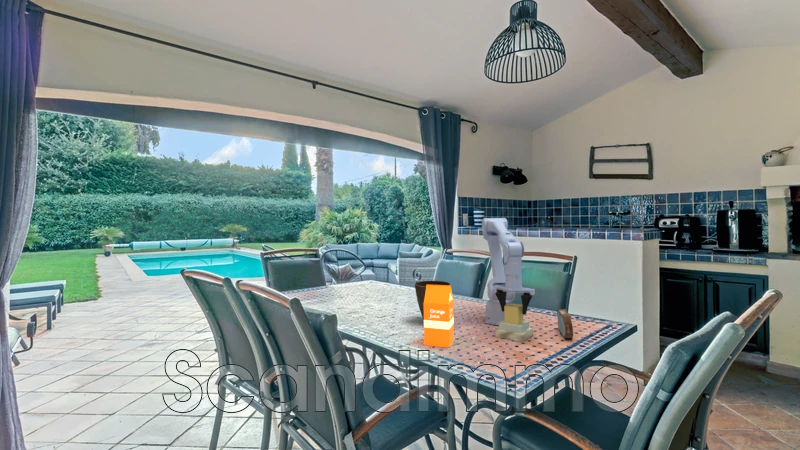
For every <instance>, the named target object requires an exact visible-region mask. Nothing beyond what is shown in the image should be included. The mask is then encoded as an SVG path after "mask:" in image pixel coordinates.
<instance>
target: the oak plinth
mask: <svg viewBox="0 0 800 450" xmlns="http://www.w3.org/2000/svg"><path fill="white" fill-rule="evenodd" d="M494 333H495V338H499V339H500V338H501V339H506V340H511V341H515V342H519V343H520V342H521V343H524V342H525V341H527V340H528V339H529V338H531V337H532V336H533V335H534V328H533V327H530V326H529V329H527V330H526V331H524V332H523V333H522V334H520V333H514V332H509V331H504V330H499V327H497V328H496V329H495V332H494Z"/></svg>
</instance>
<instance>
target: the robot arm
mask: <svg viewBox="0 0 800 450" xmlns="http://www.w3.org/2000/svg"><path fill="white" fill-rule="evenodd" d="M508 222H509V221H508V220H507V218H506V217H495V218H494V217H490V218H489V217H488V218H487V217H484V218H482V221H481V230H482V231H481V232H482V236H483V239H484V240H485V241H487V244H488V249H489V258H490V264H491V270H492V278H491V279H490V280H489V281H488V282H487V298H488V300H487V301H486V303H485V321H484V323H485V324H489V325H494V326H499V322H501V321H503V320H505V312H504V306H505V305H507V304H509V303H512V302H513V301H514V300H515V297H516V294H521V296H520V298H521V305H522V314H523V316H525V315H527V312H528V307H529V304H530V302H531V300H532V298H533V297H534V295H536V291H535V288H531V287H526V286H525V287H524V286H523V278H522V277H523V275H522V274H523V273H522V272H523V271H522V268H523V267H522V265H523V264H522V262H523V261H522V258H523V257H524V255H525V245H524V244H523V241H518V240H517V239H516V236H514V234H513V233H512V232H511V231H508V227H509V223H508ZM501 247H502V249H501Z"/></svg>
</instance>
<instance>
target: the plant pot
mask: <svg viewBox="0 0 800 450" xmlns="http://www.w3.org/2000/svg"><path fill="white" fill-rule="evenodd" d="M427 285H448V286H451V283H450V282H448V281H443V280H441V281H440V280H422V281H417V282H414V289H415V295H416V300H417V304H418V308H419V312H420V314H421V317H422V319H423V321H424V298H425V292H426V286H427Z"/></svg>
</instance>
